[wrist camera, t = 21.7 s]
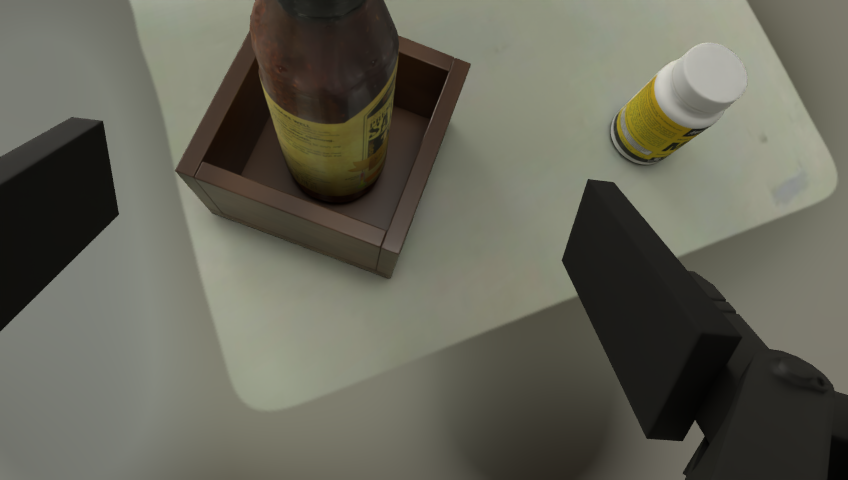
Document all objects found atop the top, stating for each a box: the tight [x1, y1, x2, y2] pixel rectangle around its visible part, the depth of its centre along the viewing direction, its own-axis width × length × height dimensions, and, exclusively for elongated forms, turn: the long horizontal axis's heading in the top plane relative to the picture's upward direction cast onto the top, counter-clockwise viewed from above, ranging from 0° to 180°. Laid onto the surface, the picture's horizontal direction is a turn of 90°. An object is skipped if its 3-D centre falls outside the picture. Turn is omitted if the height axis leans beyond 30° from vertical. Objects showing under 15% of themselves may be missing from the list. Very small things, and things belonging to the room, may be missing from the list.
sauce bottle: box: [250, 0, 399, 203], centre depth 24 cm, size 7×6×20 cm
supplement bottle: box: [611, 43, 748, 164], centre depth 34 cm, size 5×5×8 cm
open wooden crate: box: [175, 31, 471, 278], centre depth 31 cm, size 12×12×7 cm
